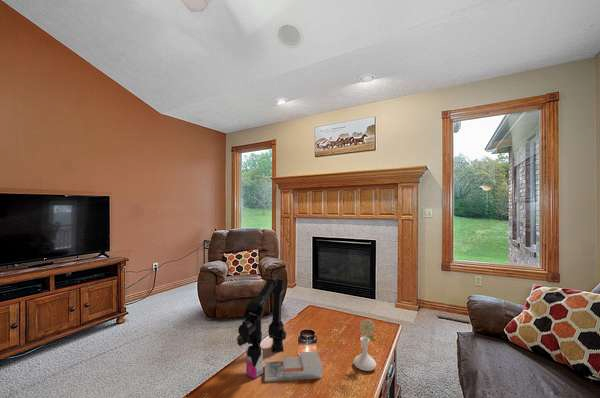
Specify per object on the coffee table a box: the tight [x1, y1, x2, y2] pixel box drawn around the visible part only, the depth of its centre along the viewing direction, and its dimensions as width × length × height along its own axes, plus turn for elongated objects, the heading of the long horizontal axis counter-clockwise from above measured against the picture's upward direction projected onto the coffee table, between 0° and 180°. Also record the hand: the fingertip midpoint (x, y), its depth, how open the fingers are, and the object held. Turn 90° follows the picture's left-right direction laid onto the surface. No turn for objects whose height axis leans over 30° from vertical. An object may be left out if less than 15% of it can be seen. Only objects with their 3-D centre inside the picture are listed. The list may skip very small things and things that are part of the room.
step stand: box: [264, 351, 323, 383], centre depth 129 cm, size 12×27×6 cm, turn 97°
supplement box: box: [245, 349, 264, 380], centre depth 127 cm, size 6×6×12 cm
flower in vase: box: [353, 318, 377, 372], centre depth 134 cm, size 13×11×25 cm
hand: (254, 360), depth 127 cm, fingers open, 9 cm apart
